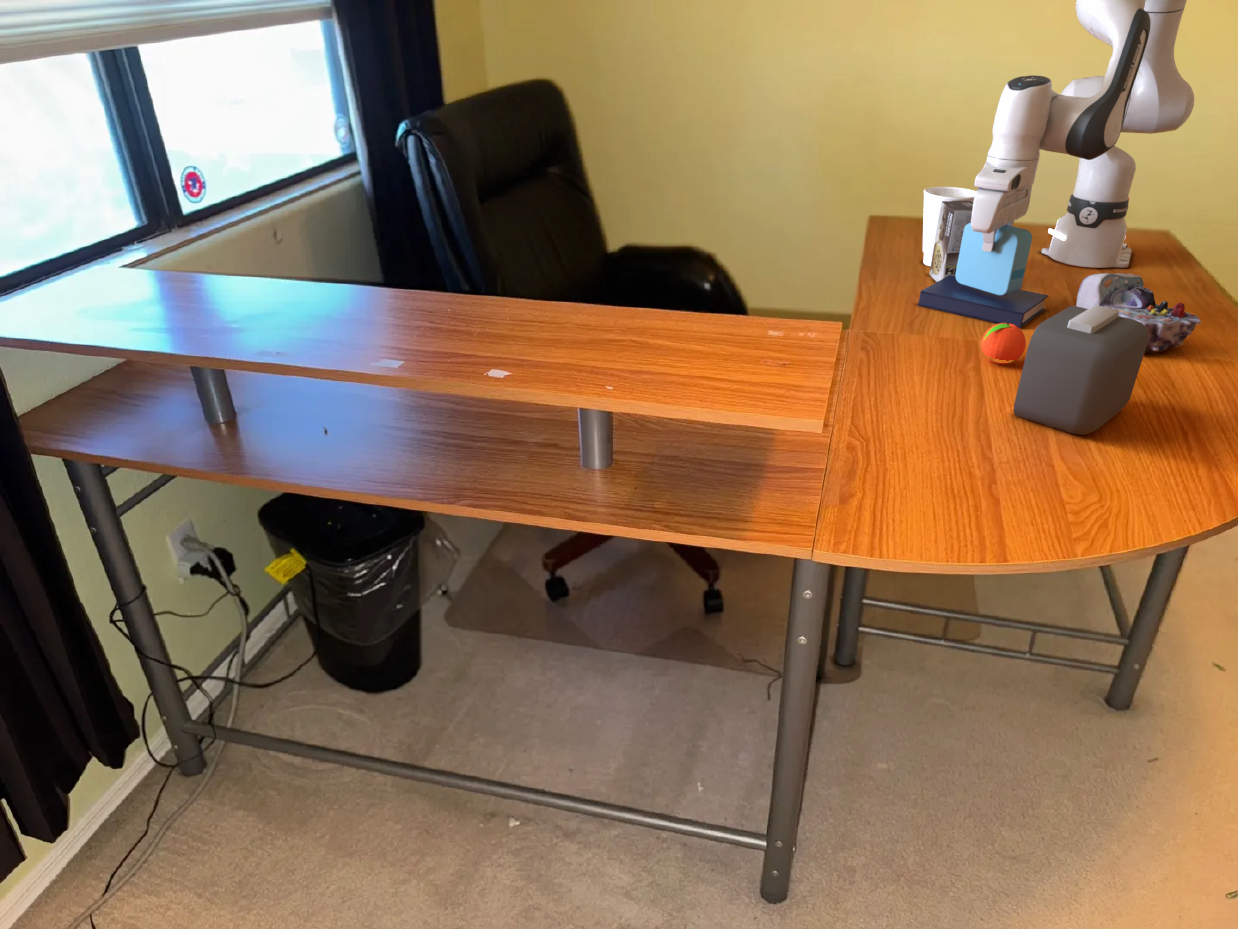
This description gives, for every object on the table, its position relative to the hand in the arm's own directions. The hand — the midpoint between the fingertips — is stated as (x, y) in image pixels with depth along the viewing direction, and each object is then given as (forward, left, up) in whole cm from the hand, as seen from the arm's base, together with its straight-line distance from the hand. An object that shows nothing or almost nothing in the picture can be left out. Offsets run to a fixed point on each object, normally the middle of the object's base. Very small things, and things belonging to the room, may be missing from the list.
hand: (994, 247), depth 169 cm
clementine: (+27, +13, -12) cm, 32 cm away
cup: (-24, -19, -12) cm, 33 cm away
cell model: (0, +26, -12) cm, 29 cm away
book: (0, 0, -12) cm, 12 cm away
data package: (0, 0, -8) cm, 8 cm away
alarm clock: (+40, +29, -12) cm, 51 cm away
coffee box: (-13, -12, -12) cm, 21 cm away
